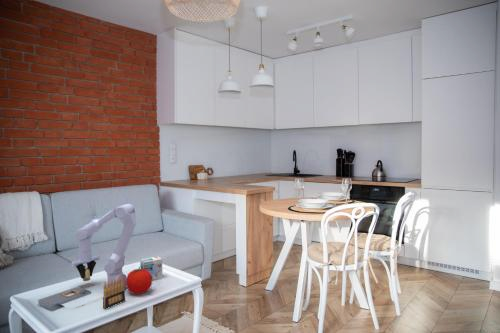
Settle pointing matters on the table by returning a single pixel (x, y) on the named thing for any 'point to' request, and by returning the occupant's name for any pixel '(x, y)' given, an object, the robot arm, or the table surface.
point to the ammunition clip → (113, 293)
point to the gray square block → (86, 285)
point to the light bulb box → (152, 266)
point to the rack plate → (62, 298)
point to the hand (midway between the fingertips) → (86, 277)
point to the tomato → (139, 281)
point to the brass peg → (87, 274)
